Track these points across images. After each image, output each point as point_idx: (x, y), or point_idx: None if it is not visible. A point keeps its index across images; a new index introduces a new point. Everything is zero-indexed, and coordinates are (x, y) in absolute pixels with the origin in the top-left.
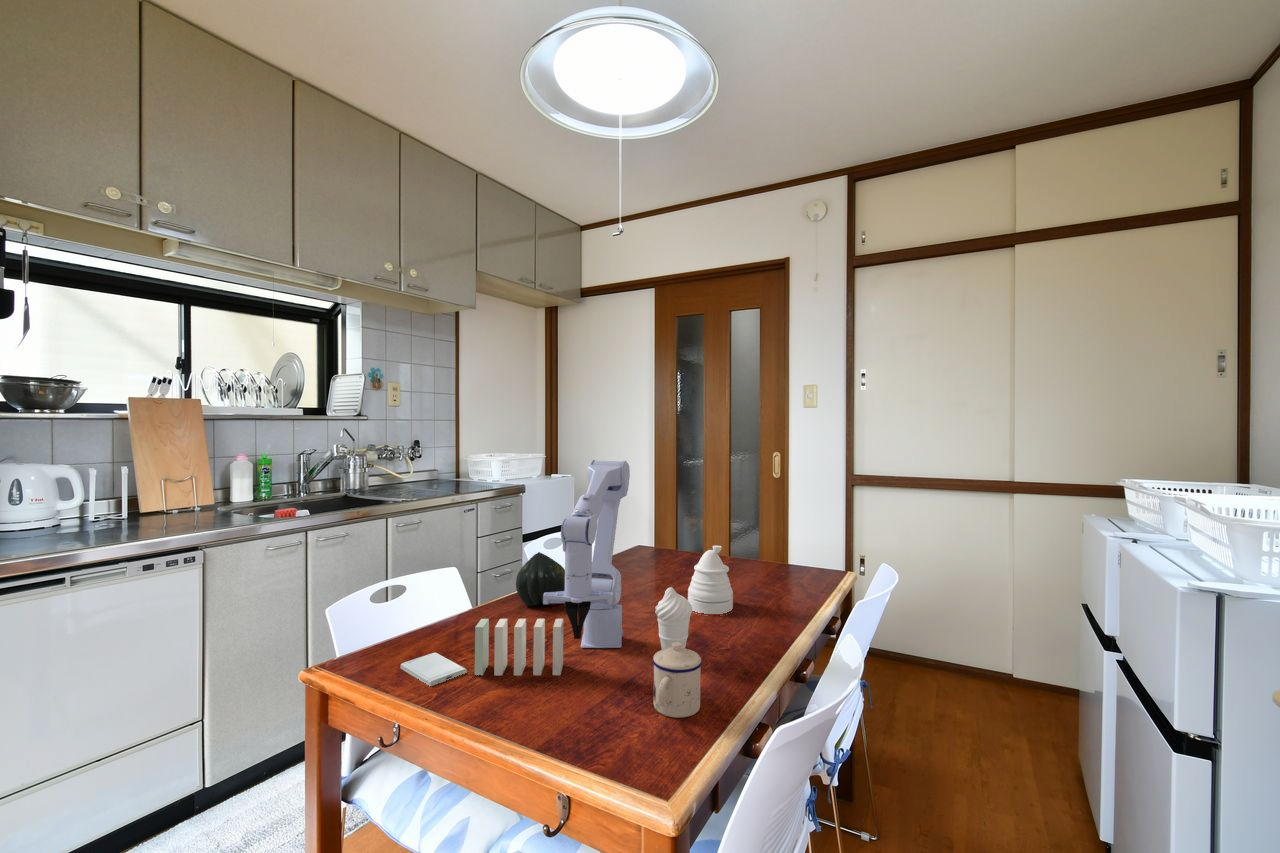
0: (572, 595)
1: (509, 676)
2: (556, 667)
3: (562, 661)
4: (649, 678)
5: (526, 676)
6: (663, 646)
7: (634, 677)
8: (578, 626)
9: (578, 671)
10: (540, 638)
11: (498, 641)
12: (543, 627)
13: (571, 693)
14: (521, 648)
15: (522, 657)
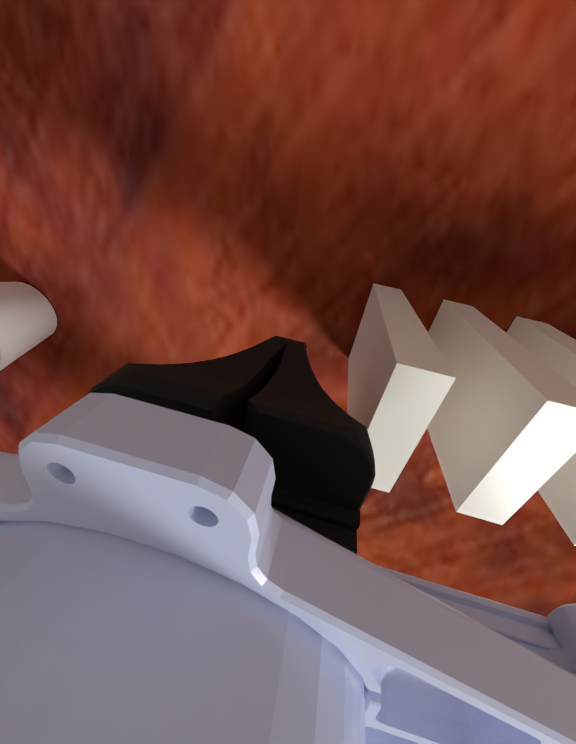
0: (221, 650)
1: (566, 318)
2: (390, 293)
3: (352, 353)
4: (75, 184)
5: (500, 303)
6: (5, 311)
7: (124, 204)
8: (268, 356)
9: (306, 298)
10: (511, 361)
11: None
12: (473, 448)
13: (365, 88)
14: None
15: (541, 355)
